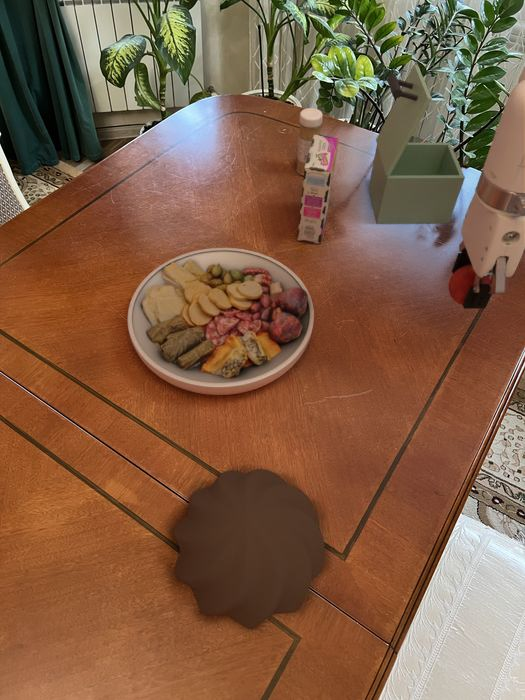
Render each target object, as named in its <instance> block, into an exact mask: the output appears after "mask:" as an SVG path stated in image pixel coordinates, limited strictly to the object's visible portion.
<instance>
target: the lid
mask: <svg viewBox="0 0 525 700" xmlns="http://www.w3.org/2000/svg"><path fill="white" fill-rule="evenodd" d="M387 83H388V87H389V88H390V93H391V95H392V98H394V99H395V101H394V103H393V105H392V107H391V109H390V111H389V113H388V115H387V117H386V119H385V121H384V123H383V125H382V127H381V129H380V131H379V133H378V135H377V137H376V139H375V142H376V146H377V145H378V149H379V153H380V156H381V160H382V163H383V167H384V171H385V174H386V175H387V176H390V174H391V173H392V171H393V169H394V167H395V165H396V163H397V162H398V160H399V158H400V156H401V154H402V153H403V151H404V149H405V147H406V145H407V144H408V143H410V142H409V141H410V140H411V138H412V136H413V134H414V133H415V131H416V129H417V127H418V125H419V123H420V122H421V120H422V118H423V116H424V115H425V113H426V111H427V109H428V107H429V105H430V104H431V102H432V100H433V98H432V95H431V93H430V90H429V88H428V86H427V83H426V81H425V79H424V76H423V74H422V72H421V69H420V67H419V65H418V64H416V63H413V66H412V67H411V69H410V71H409V73H408V75H407V77H406V79H405V80H401V79H398V76H397V75H396V74H390V75H389V76H388V78H387Z"/></svg>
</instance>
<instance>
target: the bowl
mask: <svg viewBox="0 0 525 700" xmlns="http://www.w3.org/2000/svg"><path fill="white" fill-rule="evenodd" d="M314 322H315V310H314V303H313V301H312V297H311V294H310V292H309V290H308V288H307V287H306V285H305V284H304V282H303V280H302V279H301V278H300V277H299V276H298V275H297V274H296V273H295V272H294V271H293V270H291V269H290V268H289V267H288V266H286V265H285V264H283V263H281V261H278V260H277V259H275V258H273V257H271V256H268V255H266V254H263V253H260V252H257V251H253V250H249V249H243V248H235V247H210V248H202V249H198V250H193V251H189V252H186V253H183V254H180V255H178V256H176V257H173V258H171V259H169V260H168V261H165V262H164V263H162V264H160V265H159V266H158V267H156V268H155V269H154V270H152V271H151V272H150V273H149V274H148V275H147V276H146V277H145V278H144V279H143V280H142V281H141V282H140V284H139V285H138V286H137V288H136V289H135V291H134V293H133V295H132V296H131V300H130V302H129V306H128V310H127V329H128V333H129V337H130V340H131V344H132V346H133V348H134V350H135V352H136V354H137V355H138V357H139V358H140V359H141V361H142V362H143V363H144V365H145V366H146V367H147V368H148V369H149V370H150V371H151V372H152V373H154V374H155V375H156V376H157V377H159V378H160V379H162V380H164V381H165V382H167V383H169V384H171V385H172V386H175V387H176V388H179V389H182V390H185V391H188V392H192V393H197V394H202V395H211V396H226V395H236V394H241V393H246V392H250V391H253V390H256V389H259V388H261V387H265V386H266V385H269V384H270V383H272V382H274V381H275V380H277V379H279V378H280V377H282V376H283V375H285V373H287V372H288V371H289V370H290V369H292V368H293V366H294V365H295V364H296V363H297V362H298V361H299V359H300V358H301V357H302V356H303V354H304V353H305V350H306V349H307V348H308V345H309V343H310V340H311V337H312V334H313V328H314Z"/></svg>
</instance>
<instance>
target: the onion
mask: <svg viewBox="0 0 525 700" xmlns="http://www.w3.org/2000/svg"><path fill="white" fill-rule="evenodd" d="M475 276H476V273H475V271H474V269H473V266H472V265H466V266H464V267H462V268H459V269H458V270H456V271H455V272H454V273H453V274H451V276H450V277H449V281H448V284H447V289H448V293H449V296H450V298H451V299H452V301H454V302H455V303H457V304H458V305H460V306H463V303H464V301H465V298H466V296H467V293H468V291H469V288H470V287H472V286H474V281H475ZM490 281H491V276H483V279H482V284H490Z"/></svg>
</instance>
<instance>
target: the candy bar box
mask: <svg viewBox="0 0 525 700" xmlns="http://www.w3.org/2000/svg"><path fill="white" fill-rule="evenodd" d="M339 140H340V138H339V137H336V136H335V137H334V136H327V135H321V134H320V135H314V136H313V139H312V143H311V146H310V149H309V153H308V156H307V160H306V163H305V168H304V176H303V178H302V190H301V196H300V197H301V198H300V210H299V218H298V227H297V236H296V238H297V239H296V241H297V242H303V243H309V244H315V245H321V244H322V240H323V235H324V231H325V226H326V222H327V218H328V212H329V207H330V199H331V193H332V186H333V180H334V173H335V166H336V161H337V154H338V146H339Z"/></svg>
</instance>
